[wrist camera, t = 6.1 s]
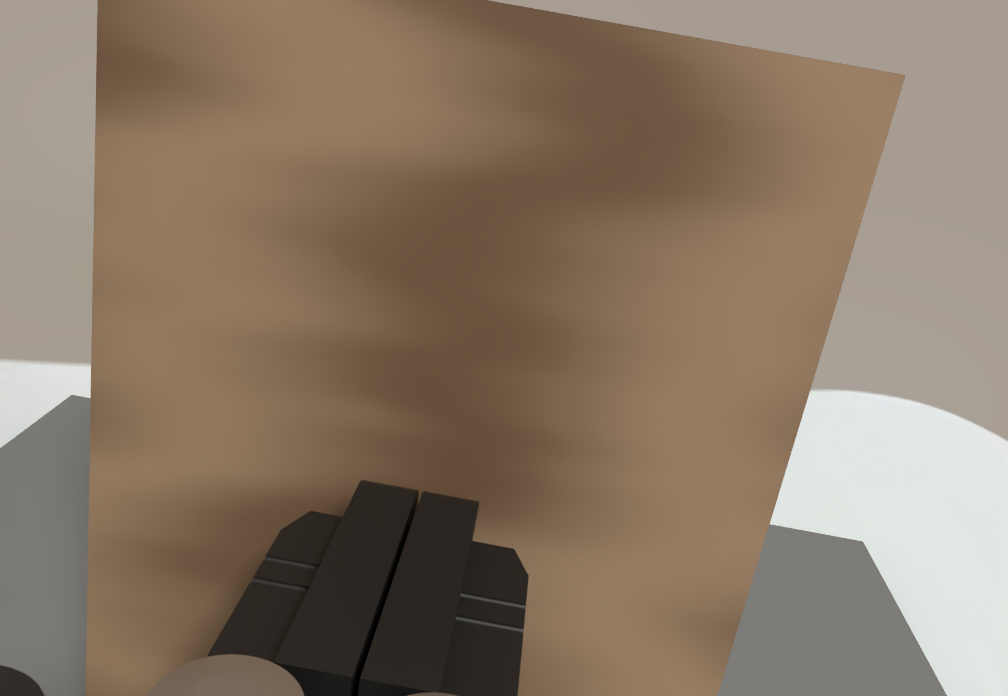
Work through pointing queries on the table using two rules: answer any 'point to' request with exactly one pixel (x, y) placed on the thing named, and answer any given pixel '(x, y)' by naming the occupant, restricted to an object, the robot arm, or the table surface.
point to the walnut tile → (458, 309)
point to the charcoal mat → (746, 681)
